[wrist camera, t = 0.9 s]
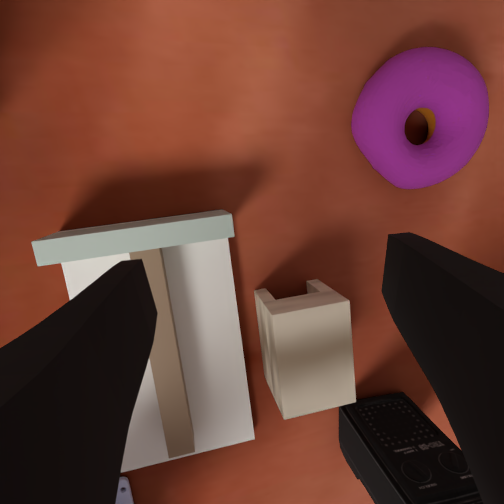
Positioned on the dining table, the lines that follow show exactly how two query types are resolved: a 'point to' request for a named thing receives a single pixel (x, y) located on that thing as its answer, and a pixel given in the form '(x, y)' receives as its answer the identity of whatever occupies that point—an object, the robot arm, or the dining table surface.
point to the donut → (432, 108)
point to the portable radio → (403, 454)
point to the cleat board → (197, 350)
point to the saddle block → (307, 349)
